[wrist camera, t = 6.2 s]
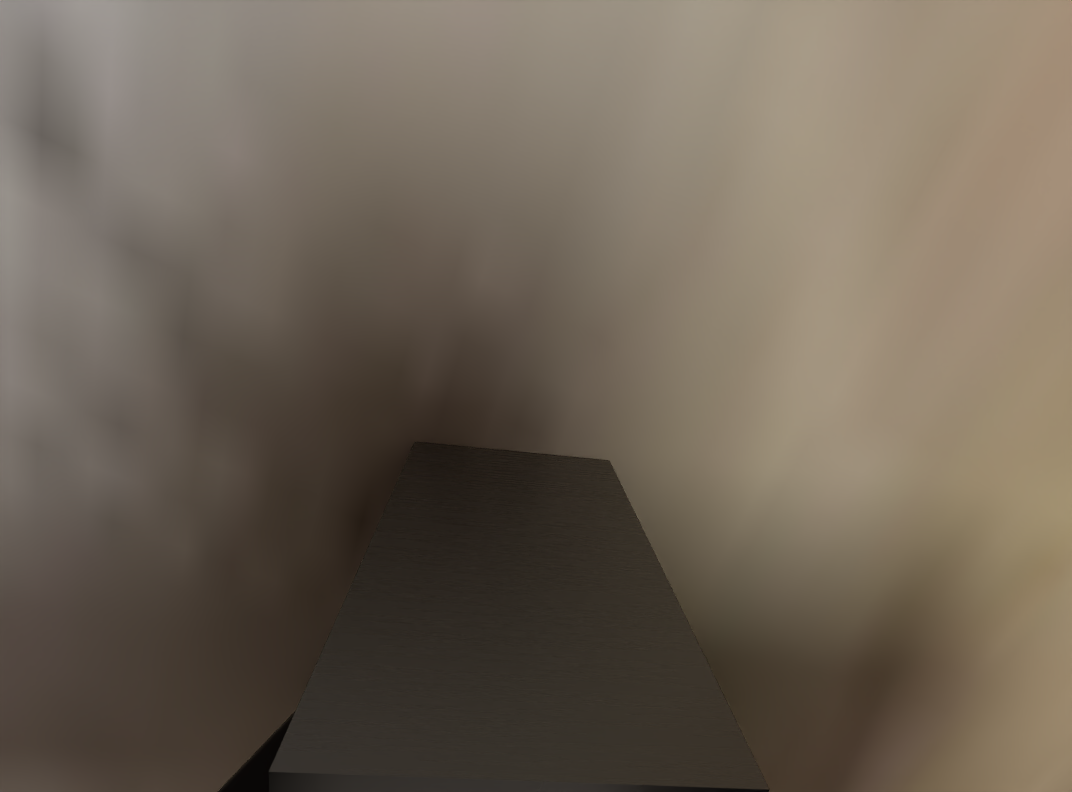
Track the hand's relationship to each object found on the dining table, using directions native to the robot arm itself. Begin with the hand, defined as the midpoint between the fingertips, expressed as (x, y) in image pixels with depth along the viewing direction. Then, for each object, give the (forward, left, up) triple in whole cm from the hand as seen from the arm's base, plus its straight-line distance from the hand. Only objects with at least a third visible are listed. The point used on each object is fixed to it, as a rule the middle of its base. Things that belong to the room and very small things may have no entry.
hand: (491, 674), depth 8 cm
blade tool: (0, +8, -1) cm, 8 cm away
